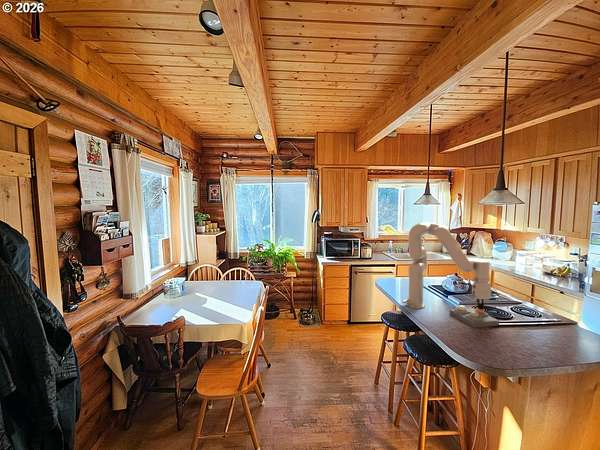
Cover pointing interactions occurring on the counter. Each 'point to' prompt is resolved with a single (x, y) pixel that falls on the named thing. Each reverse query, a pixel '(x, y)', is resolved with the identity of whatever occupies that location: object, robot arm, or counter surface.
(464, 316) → the button panel
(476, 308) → the terracotta button
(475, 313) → the sage button
